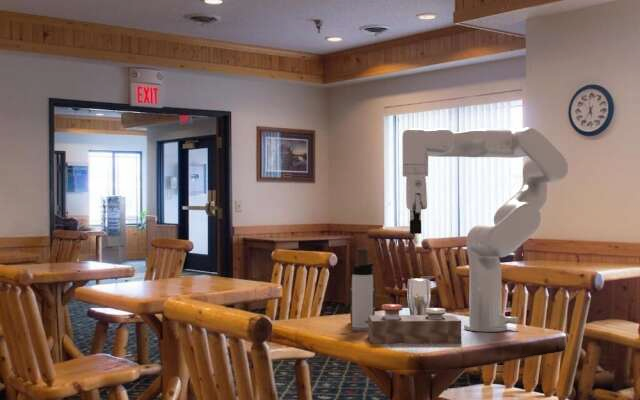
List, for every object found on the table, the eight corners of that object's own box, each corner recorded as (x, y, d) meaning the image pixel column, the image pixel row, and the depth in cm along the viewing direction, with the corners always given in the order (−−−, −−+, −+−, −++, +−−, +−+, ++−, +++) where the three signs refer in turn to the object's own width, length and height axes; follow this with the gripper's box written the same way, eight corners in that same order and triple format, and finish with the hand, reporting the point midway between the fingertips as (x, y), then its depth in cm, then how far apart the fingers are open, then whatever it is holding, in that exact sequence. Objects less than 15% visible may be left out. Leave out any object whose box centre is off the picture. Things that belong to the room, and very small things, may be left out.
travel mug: (372, 331, 224) (372, 264, 224) (350, 331, 225) (350, 263, 226) (375, 328, 230) (375, 262, 231) (353, 328, 232) (353, 262, 232)
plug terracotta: (400, 333, 212) (400, 304, 213) (403, 336, 207) (403, 306, 207) (380, 333, 212) (380, 304, 212) (382, 336, 207) (382, 306, 207)
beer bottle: (373, 324, 238) (373, 248, 239) (348, 324, 240) (348, 248, 240) (375, 321, 246) (375, 247, 247) (351, 320, 247) (351, 247, 248)
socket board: (452, 336, 216) (452, 315, 216) (461, 343, 204) (461, 320, 204) (368, 336, 215) (368, 315, 215) (372, 343, 203) (372, 321, 203)
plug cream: (443, 337, 213) (443, 308, 213) (447, 340, 207) (447, 310, 207) (423, 337, 212) (423, 308, 213) (426, 340, 207) (426, 310, 207)
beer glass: (434, 328, 230) (433, 279, 231) (425, 331, 224) (425, 280, 225) (412, 326, 234) (412, 278, 234) (403, 329, 228) (403, 279, 228)
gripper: (432, 169, 216) (432, 234, 215) (423, 172, 231) (424, 233, 230) (406, 169, 216) (406, 234, 215) (399, 172, 230) (399, 233, 230)
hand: (415, 233), depth 223 cm, fingers closed
